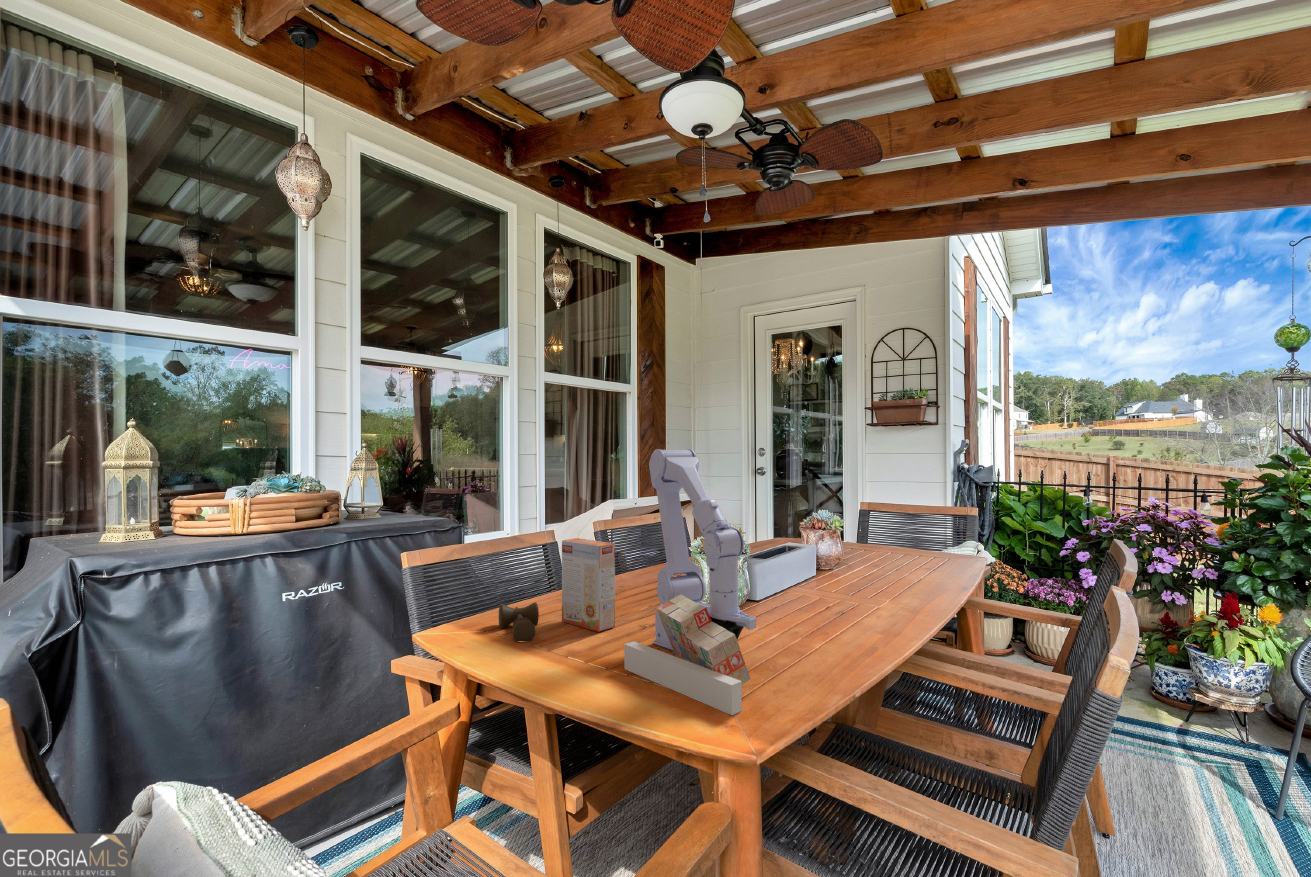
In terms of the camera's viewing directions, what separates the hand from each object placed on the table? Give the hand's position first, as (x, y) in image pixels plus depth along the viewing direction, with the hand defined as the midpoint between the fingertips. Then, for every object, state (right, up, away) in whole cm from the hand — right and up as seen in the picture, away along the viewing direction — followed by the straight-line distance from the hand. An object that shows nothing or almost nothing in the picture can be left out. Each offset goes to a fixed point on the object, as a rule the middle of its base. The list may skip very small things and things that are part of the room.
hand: (724, 656), depth 119 cm
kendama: (-47, -3, +26) cm, 54 cm away
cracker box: (-31, -3, +30) cm, 43 cm away
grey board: (-10, -2, -9) cm, 14 cm away
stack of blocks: (-3, -2, -3) cm, 4 cm away
